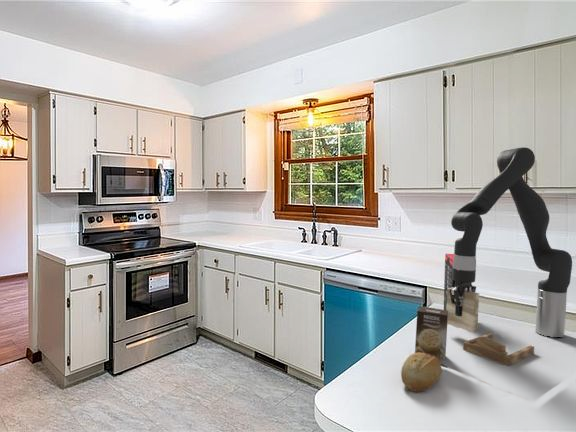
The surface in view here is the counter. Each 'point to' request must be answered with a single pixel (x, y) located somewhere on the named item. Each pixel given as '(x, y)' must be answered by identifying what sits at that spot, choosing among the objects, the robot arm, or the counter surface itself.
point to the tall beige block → (464, 311)
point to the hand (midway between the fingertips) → (461, 314)
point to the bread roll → (420, 371)
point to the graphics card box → (448, 276)
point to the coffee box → (431, 332)
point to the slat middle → (491, 350)
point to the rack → (497, 356)
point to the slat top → (491, 344)
